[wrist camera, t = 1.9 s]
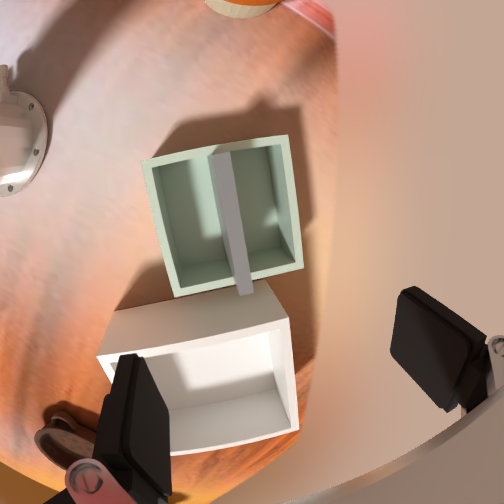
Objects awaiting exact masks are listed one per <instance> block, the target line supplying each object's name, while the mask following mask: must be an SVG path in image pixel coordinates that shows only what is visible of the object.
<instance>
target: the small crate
mask: <svg viewBox="0 0 504 504" xmlns="http://www.w3.org/2000/svg"><path fill="white" fill-rule="evenodd" d="M141 164H142V169H143V174H144V179H145V184H146V189H147V193H148V198H149V202H150V207H151V211H152V216H153V220H154V224H155V228H156V232H157V236H158V240H159V244H160V248H161V252H162V255H163V259H164V263H165V266H166V270H167V273H168V277H169V280H170V284H171V287H172V291H173V294H174V297H179V296H184V295H189V294H193V293H198V292H202V291H207V290H212V289H216V288H221V287H225V286H229V285H234V284H236V287H237V290H238V293H239V295H240V296H242V295H246V294H251V293H254V290H253V284H252V280H256V279H260V278H264V277H268V276H273V275H277V274H281V273H285V272H289V271H294V270H298V269H302V268H304V262H303V251H302V241H301V232H300V223H299V214H298V205H297V197H296V189H295V181H294V173H293V166H292V159H291V152H290V145H289V138H288V135H279V136H270V137H263V138H255V139H248V140H242V141H235V142H229V143H223V144H217V145H212V146H206V147H201V148H196V149H191V150H186V151H182V152H177V153H172V154H168V155H164V156H159V157H155V158H151V159H147V160H143V161H141Z"/></svg>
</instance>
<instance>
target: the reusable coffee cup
mask: <svg viewBox="0 0 504 504" xmlns="http://www.w3.org/2000/svg"><path fill="white" fill-rule="evenodd" d="M204 1H205V3H206V4H207V5H208V6H209V7H210V8H211V9H213V10H214V11H216V12H218V13H220V14H222V15H225V16H228V17H233V18H243V19H244V18H253V17H257V16H260V15H262V14H265V13H266V12H268V11H269V10H270V9H271V8H272V7H274V6H275V5H276V4H277V3H278V2H281V1H283V0H204Z"/></svg>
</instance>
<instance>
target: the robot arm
mask: <svg viewBox="0 0 504 504" xmlns="http://www.w3.org/2000/svg"><path fill="white" fill-rule="evenodd" d="M7 79H8V65H0V197H6V196H10V195H13V194H16V193H18V192H19V191H21V190H22V189H24V188H25V187H26V186H27V185H28V184H29V183H30V182H31V181H32V179H33V178H34V176H35V175H36V173H37V171H38V169H39V168H40V166H41V163H42V160H43V158H44V154H45V150H46V146H47V136H48V131H47V121H46V115H45V113H44V110H43V108H42V106H41V104H40V103H39V101H38V100H37V99H35V98H34V97H33V96H32V95H29V94H27V93H24V92H20V91H18V92H10V88H9V87H7ZM33 107H34V108H33ZM38 151H39V153H38ZM486 337H487V336H486V335H485V334H484V333H482V332H481V331H480V330H478V329H477V328H475V327H474V326H473V325H471V324H470V323H469V322H467V321H466V320H464V319H463V318H462V317H460V316H459V315H457V314H456V313H455V312H453V311H452V310H450V309H448V308H447V307H446V306H445V305H443V304H442V303H440V302H439V301H437V300H436V299H434V298H433V297H431V296H430V295H429V294H427V293H426V292H424V291H422V290H421V289H420V288H418V287H416V286H412V287H409V288H406V289H404V290H402V291H401V293H400V295H399V296H398V299H397V308H396V315H395V322H394V329H393V335H392V341H391V347H390V353H391V355H392V357H393V358H394V359H395V360H396V361H397V362H398V364H399V365H400V366H401V367H402V368H403V369H404V370H405V371H406V372H407V373H408V374H409V375H410V376H411V377H412V379H413V380H414V381H415V382H416V383H417V384H418V385H419V386H420V387H421V388H422V390H423V391H424V392H426V394H427V395H428V396H429V397H430V398H431V399H432V401H434V403H435V404H436V405H437V406H438V407H439V408H443V409H444V410H445V411H446V412H447V413H448V412H450V411H451V410H452V409H454V408H455V407H457V405H458V403H459V404H460V405H461V419H460V420H458V421H457V422H455V423H454V424H453V425H451V426H450V427H448V428H447V429H446V430H444V431H442V432H441V433H439V434H438V435H436V436H435V437H433V438H432V439H430V440H428V441H427V442H425V443H423V444H422V445H420V446H419V447H417V448H415V449H414V450H411V451H410V452H408V453H406V454H404V455H402V456H401V457H399V458H397V459H395V460H393V461H391V462H389V463H387V464H385V465H383V466H381V467H379V468H377V469H375V470H373V471H370V472H368V473H366V474H364V475H362V476H359V477H357V478H355V479H352V480H350V481H347V482H345V483H342V484H340V485H337V486H335V487H332V488H329V489H326V490H323V491H320V492H317V493H314V494H311V495H309V496H305V497H302V498H299V499H295V500H291V501H288V502H284V503H280V504H504V336H502V335H498V336H494V337H492V338H491V339H490V340H489V342H488V344H487V345H486V344H485V340H486ZM65 485H66V488H65V489H64V490H62V491H61V492H60V493H58V494H57V495H55V496H54V497H53V498H51V499H49V500H48V501H47V502H45V503H44V504H168V498H167V496H171V495H172V482H171V461H170V416H169V411H168V408H167V406H166V404H165V402H164V400H163V398H162V396H161V394H160V392H159V390H158V388H157V385H156V383H155V381H154V379H153V377H152V375H151V372H150V370H149V368H148V366H147V363H146V361H145V359H144V357H142V356H141V357H139V356H138V354H137V353H132V354H124V355H120V356H119V359H118V363H117V367H116V371H115V375H114V379H113V383H112V387H111V391H110V394H107V395H106V396H105V398H104V401H103V406H102V410H101V414H100V419H99V423H98V428H97V433H96V438H95V444H94V449H93V455H92V459H89V458H86V459H80V460H78V461H76V462H74V463H73V464H72V465H71V466H70V467H69V468H68V470H67V471H66V475H65Z"/></svg>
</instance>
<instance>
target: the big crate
mask: <svg viewBox="0 0 504 504" xmlns="http://www.w3.org/2000/svg"><path fill="white" fill-rule="evenodd" d="M252 284H253V290H254V293H251V294H246V295H242V296H240V295H239V293H238V290H237V287H236V286H232V287H228V288H223V289H219V290H214V291H210V292H205V293H201V294H196V295H191V296H187V297H182V298H177V299H172V300H168V301H163V302H158V303H153V304H148V305H143V306H138V307H133V308H128V309H123V310H118V311H114V312H113V315H112V317H111V320H110V322H109V325H108V327H107V330H106V333H105V335H104V338H103V340H102V343H101V346H100V348H99V351H98V354H97V358H98V360H99V362H100V363H101V365H102V367H103V369H104V371H105V372H106V374H107V376H108V378H109V379H110V381H111V383H113V379H114V375H115V371H116V367H117V363H118V359H119V356H120V355H124V354H132V353H137V354H138V356H139V357H141V356H142V357H144V359H145V361H146V363H147V366H148V368H149V370H150V372H151V375H152V377H153V379H154V381H155V383H156V385H157V388H158V390H159V392H160V394H161V396H162V398H163V400H164V402H165V404H166V406H167V408H168V411H169V416H170V456H174V455H183V454H191V453H198V452H205V451H211V450H217V449H222V448H228V447H233V446H237V445H242V444H247V443H251V442H255V441H259V440H263V439H267V438H271V437H275V436H278V435H282V434H285V433H289V432H292V431H295V430H299V421H298V408H297V396H296V385H295V374H294V363H293V353H292V343H291V333H290V324H289V317H288V315H287V314H286V312H285V310H284V309H283V307H282V305H281V304H280V302H279V301H278V299H277V297H276V296H275V294H274V292H273V291H272V289H271V288H270V286H269V284H268V283H267V281H266V279H263V280H258V281H254V282H252Z"/></svg>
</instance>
